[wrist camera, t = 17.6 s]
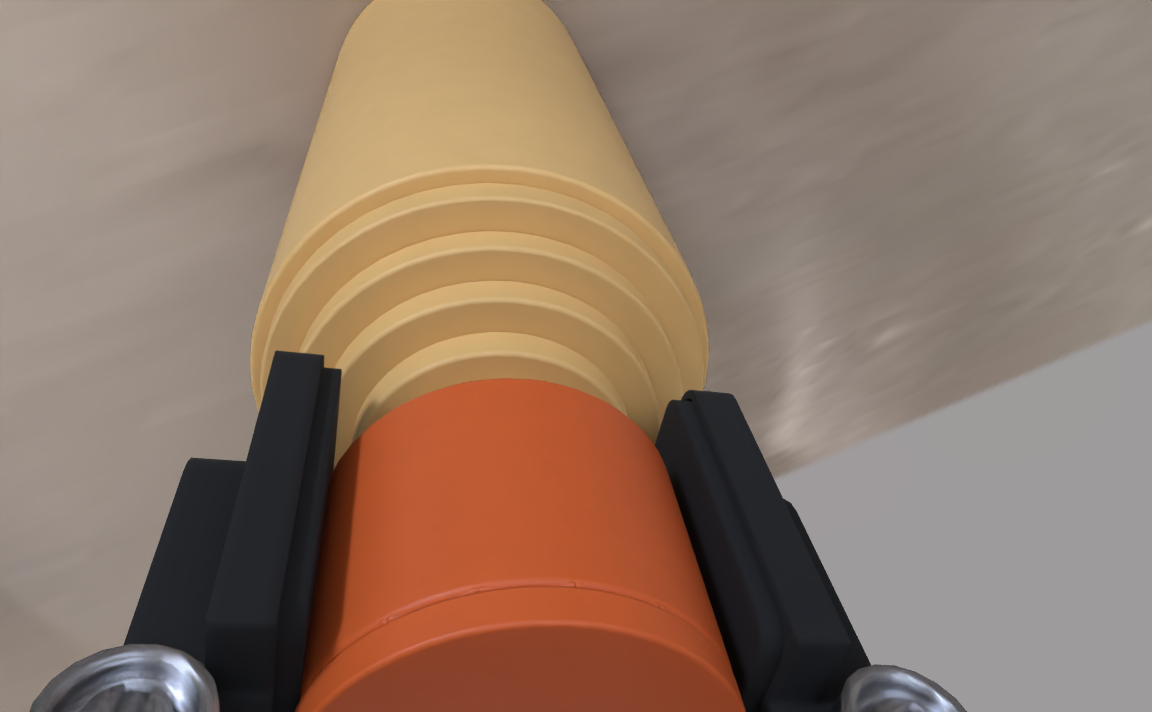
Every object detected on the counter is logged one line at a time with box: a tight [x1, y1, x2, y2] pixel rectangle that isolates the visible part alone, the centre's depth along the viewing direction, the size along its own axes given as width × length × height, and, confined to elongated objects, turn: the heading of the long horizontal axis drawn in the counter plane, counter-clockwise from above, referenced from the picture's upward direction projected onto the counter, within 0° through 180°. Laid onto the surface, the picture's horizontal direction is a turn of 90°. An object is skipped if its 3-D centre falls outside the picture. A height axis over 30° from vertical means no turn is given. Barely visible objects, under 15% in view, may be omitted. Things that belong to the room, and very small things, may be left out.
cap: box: [294, 378, 746, 712], centre depth 9 cm, size 4×4×3 cm
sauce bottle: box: [250, 0, 709, 469], centre depth 16 cm, size 6×6×18 cm
